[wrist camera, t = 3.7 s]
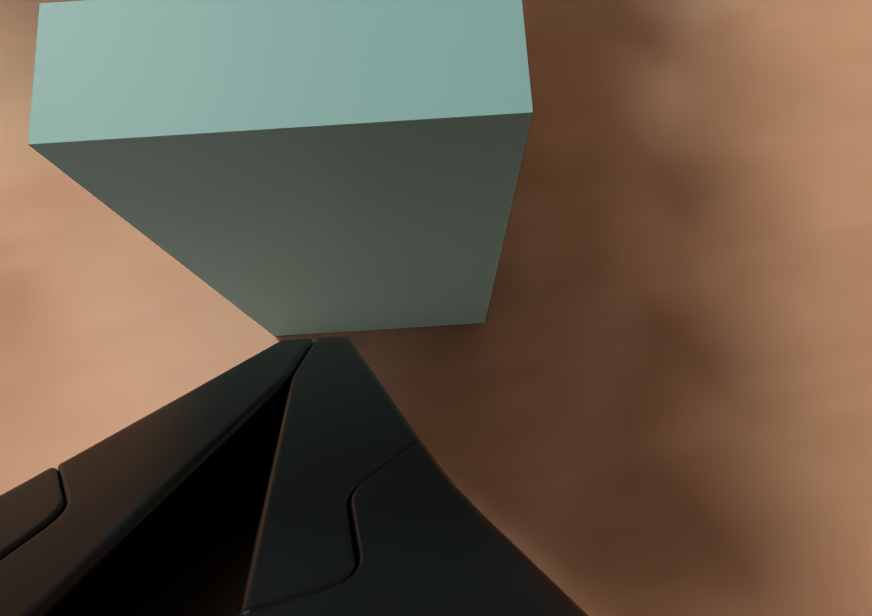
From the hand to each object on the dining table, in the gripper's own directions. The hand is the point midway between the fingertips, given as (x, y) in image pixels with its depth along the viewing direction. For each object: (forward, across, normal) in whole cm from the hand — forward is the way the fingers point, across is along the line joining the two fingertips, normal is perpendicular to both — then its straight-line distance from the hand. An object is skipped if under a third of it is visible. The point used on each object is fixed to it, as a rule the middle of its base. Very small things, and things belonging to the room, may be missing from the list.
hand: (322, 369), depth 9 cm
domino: (+8, 0, -3) cm, 8 cm away
